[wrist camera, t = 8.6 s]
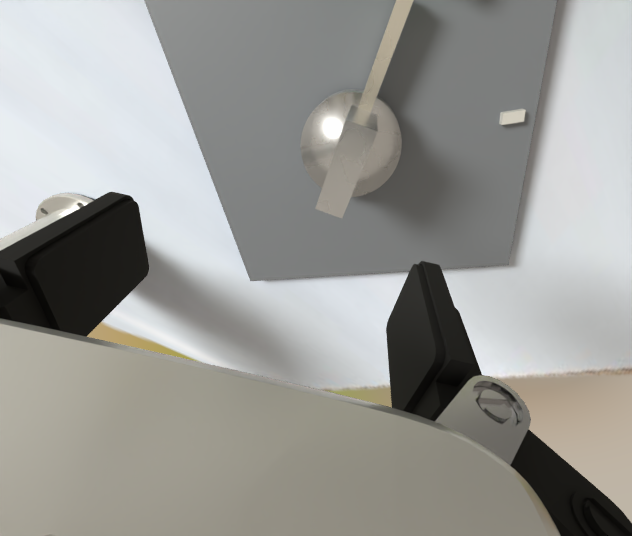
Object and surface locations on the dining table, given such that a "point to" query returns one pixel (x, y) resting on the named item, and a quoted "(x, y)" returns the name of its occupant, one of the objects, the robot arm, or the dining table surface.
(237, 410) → the robot arm
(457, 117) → the dial board
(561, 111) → the dining table surface
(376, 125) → the knob
